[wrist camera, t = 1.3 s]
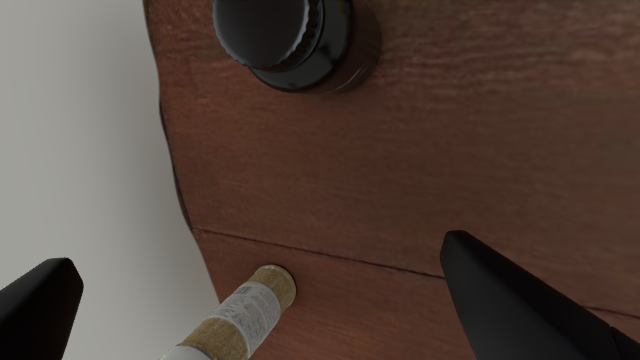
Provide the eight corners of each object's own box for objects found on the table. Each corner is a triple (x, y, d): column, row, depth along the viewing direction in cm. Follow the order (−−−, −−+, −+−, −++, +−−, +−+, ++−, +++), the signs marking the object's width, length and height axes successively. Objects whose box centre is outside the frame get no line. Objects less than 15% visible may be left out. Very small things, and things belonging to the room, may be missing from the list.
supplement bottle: (357, 109, 26) (292, 122, 15) (282, 70, 28) (173, 56, 17) (401, 17, 24) (361, -45, 13) (317, -21, 25) (215, -107, 14)
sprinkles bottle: (261, 306, 34) (155, 426, 22) (250, 263, 33) (133, 363, 21) (303, 306, 32) (213, 438, 20) (292, 261, 32) (192, 369, 19)
